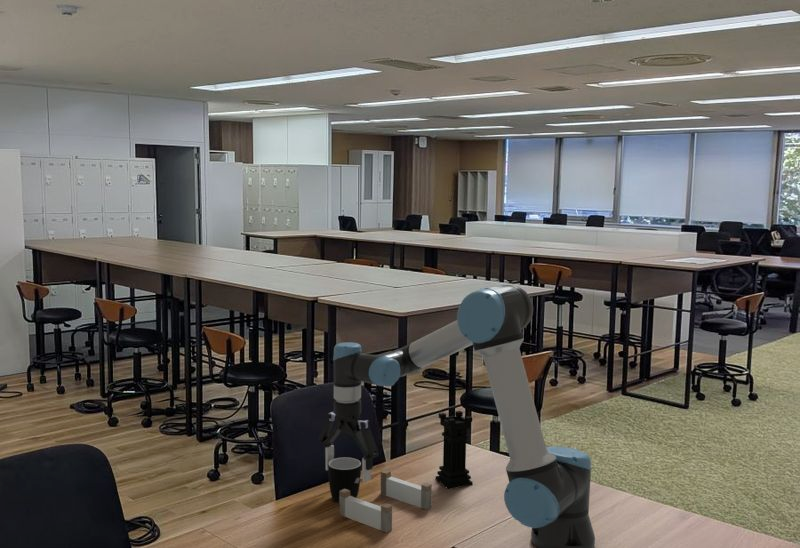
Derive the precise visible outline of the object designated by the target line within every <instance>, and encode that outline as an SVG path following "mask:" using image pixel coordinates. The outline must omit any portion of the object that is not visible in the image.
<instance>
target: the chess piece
mask: <svg viewBox="0 0 800 548" xmlns="http://www.w3.org/2000/svg"><path fill="white" fill-rule="evenodd" d="M463 415H464V413H463V411H462V410H456V411H455V414H454V415H450V416H447V413H445V412H440V413H438V418H439V419H440V421H439V423H440V424H439V425H440V426H442V427H443V432H441V436H443V446H442V447H443V451H442V452H443V453H442V465H439V467H438V468H439V469H438V470H437V473H436V474H437V475H435V477H434V478H435V480H436V479H437V480H438V482H439V483H440V485H442V486H444V487H445V488H446V487H447V489H448V490H451V489H450V488H452V489H457V488H461V487H467V486H473V483H474V482H473V481H472V477H471V475H470V471H469V469H467V468H466V466H467V465H466V464H467V463H466V459H467V458H466V455H467V440H468V439H469V435H467V429H471V423H472V422H473V417H472V416H470V415H468V416H464V417H463ZM437 480H436V481H437ZM456 487H457V488H456Z"/></svg>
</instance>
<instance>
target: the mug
mask: <svg viewBox="0 0 800 548" xmlns="http://www.w3.org/2000/svg"><path fill="white" fill-rule="evenodd" d="M361 478H362V461H360V460H359V459H357V458H353V457H345V456H344V457H337V458H334V459H333V460H331V461H330V462H329V464H328V483H329V484H328V485H329V492H330V495H331V498H332V500H333V501H334V502H335V503H338V504H339V491H341V490H343V489H347V490H350V496H352V497H355V498H358V495H359V491H360V484H361Z"/></svg>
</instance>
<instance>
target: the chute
mask: <svg viewBox="0 0 800 548" xmlns="http://www.w3.org/2000/svg"><path fill="white" fill-rule="evenodd" d="M432 486H433V485H432V483H428V482H424V483H422V484H421V485H419V484H416V483H413V482H409V481H406V480H402V479H400V478H397V477H394V476H392V471H390V470H387V469H384V470H382V471H380V495H382V496H386V497H389V498H392V499H394V500H398V501H401V502H403V503H405V504H409V505H412V506H414V507H417V508H421V509H423V510H426V511H427V510H429V509H431V508H432V493H433V492H432ZM338 504H339V505H338V506H339V507H338V508H339V509H338V510H339V515H340V516H342V517H345V518H348V519H350V520H353V521H355V522H357V523H360V524H364V525H366V526H368V527H371V528H373V529H376V530H379V531H381V532H384V533H389V532H391V531H392V530H393V505H392V504H390V503H386V502H385V503H384V504H382V505H377V504H375V503H372V502H369V501H366V500H364V499H360V498H358V497H357V498H355V497H352V496H350V490H347V489H343V490H341V491H339V503H338Z"/></svg>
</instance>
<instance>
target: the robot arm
mask: <svg viewBox="0 0 800 548" xmlns="http://www.w3.org/2000/svg"><path fill="white" fill-rule="evenodd" d="M533 314H534V305H533V301H532V299H531V296H530V295H529V294H528V293H527V291H526V290H524V289H523V288H522V287H520V286H517V285H514V284H505V285H504V284H502V285H499V286H498V285H497V286H492V287H486V288H485V287H484V288H480V289H478V290H475V291H472V292H470V293H469V294H467V295H466V296H465V297H464V298H462V301H461V303H460V305H459V307H458V309H457V313H456V320H454V321H453V322H450V323H448V324H446V325H445V326H443V327H440V328H439V329H436V330H434V331H432V332H431V333H429V334H426V335H424V336H422V337H420V338H419V339H416V340H415V341H412V342H411V343H409V344H406V345H405V346H403V347H401V348H398V349H395V350H390V351H387V352H383V353H380V354H371V353H365V352H363V350H362V346H361V344H360V343H358V342H351V341H349V342H339V343H337V344H335V346H334V347H333V358H332V361H333V362H332V363H333V399H334V401H333V411H331V412H327V413H326V415H325V416H326V418H325V423H324V425H323V427H322V428H321V429H322V430H321V432H320V435H319V437H318V438H317V439H318V443H319V444H321V445H322V446H323V455H324V458H325V471H326V472H327V471H328V464H329V462H330V461H331V460H333V459H335V445H334V442H335V440H336V439H337V438H338V436H339V435H340V434H341V433H342V434H344V433H345V434H347V435H350V436H351V437H352V438H353V439H354V440H355V442H356V444H357V446H358V448H359V450H360V451H361V453H362V455H363V457H362V460H361V481H362V482H363V483H366V482H369V481H370V480H371V479H372V470H373V468H374V466H373V462H374V461H373V459H374V458H375V457H379V455H380V453H379V450H378V447H377V444H376V441H375V438H374V436H373V433H372V430H371V425H370V420H368V419H366V420H361V417H360V415H361V414H362V400H361V398H362V383H367V384H371V385H375V386H379V387H393V386H394V385H395V384H396V382H398V380H399V379H400V378H402V377H405V376H408V375H413V374H416V373H419V371H422V369H424V368H426V367H428V366H430V365H432V364H435V363H436V362H439V361H441V360H443V359H445V358H447V357H450V356H451V355H453V354H456V353H457V352H460V351H462V350H464V349H467V348H468V347H470V346H473V350H474V352H475V353H476V354H477V355H479V356H481V357H482V359H483V362H484V366H485V369H486V373H487V377H488V381H489V385H490V388H491V392H492V396H493V399H494V403H495V407H496V411H497V414H498V418H499V422H500V426H501V429H502V433H503V437H504V441H505V445H506V448H507V451H508V456H509V461H508V462H507V464H506V467H505V470H506V471H505V472H506V475H507V478H508V483H507V485H506V487H505V489H504V493H503V501H504V504H505V507H506V509H507V511H508V513H509V514H510V516H511V517H512V518H513V520H516V521H518V522H519V523H520V524H521V525H522V526H525V527H527V528H531V531H530V540H531V543H532V545H533V546H535V547H536V548H595V545H596V543H595V542H596V537H595V533H594V529H593V526H592V521H591V519H590V515H589V510H590V509H589V507H590V496H591V494H590V493H591V472H592V465H591V462H592V460H591V457H590V456H589V455H588V453H586V452H584V451H582V450H579V449H576V448H573V447H572V448H571V447H565V446H555V445H554V446H546V442H545V438H544V434H543V430H542V427H541V424H540V420H539V416H538V413H537V408H536V405H535V402H534V396H533V394H532V390H531V387H530V383H529V379H528V376H527V371H526V368H525V364H524V360H523V357H522V353H521V350H520V348H521V345H522V344H523V342H524V339H525V338H524V335H523V331H522V330H523V329H525V328H526V327H527V326H528V325H529V323H530V321H531V320H532V318H533ZM334 424H335V426H334ZM333 426H334V427H333Z"/></svg>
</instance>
